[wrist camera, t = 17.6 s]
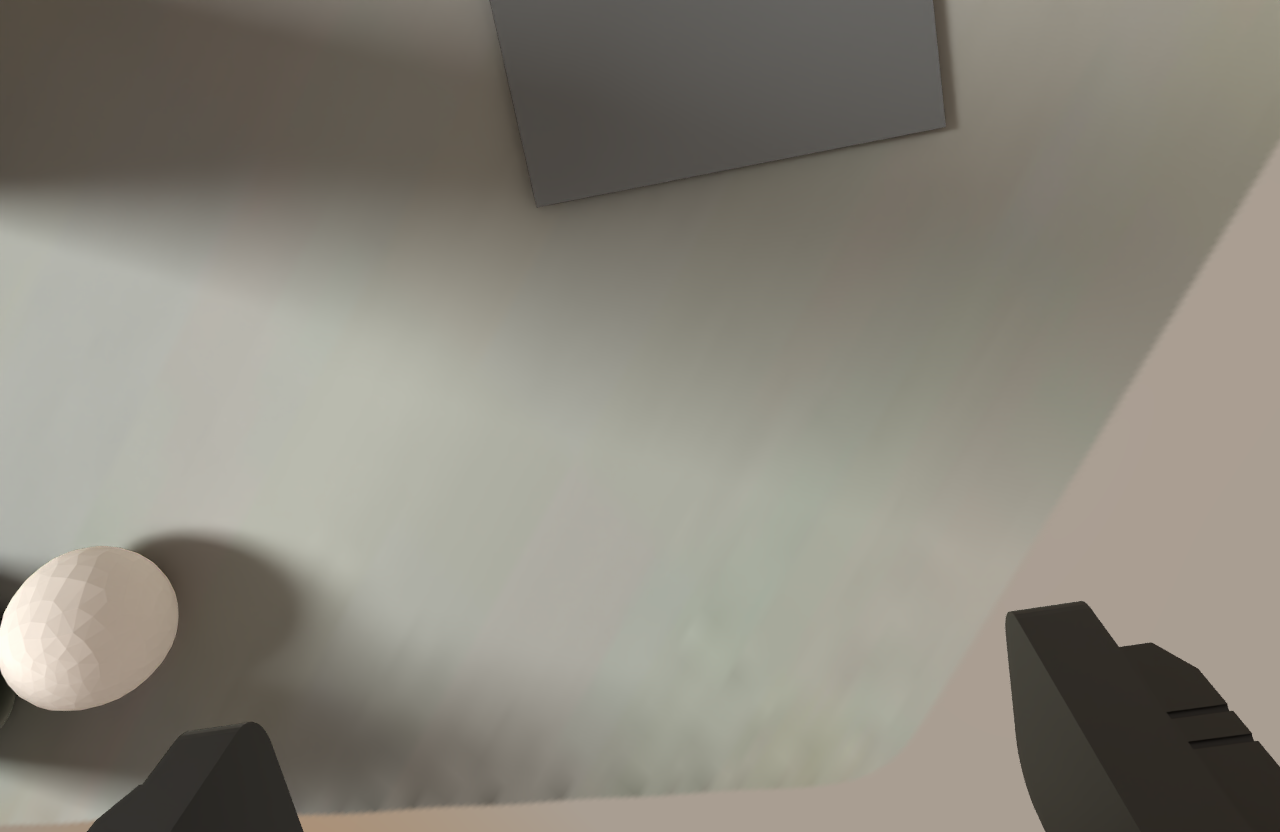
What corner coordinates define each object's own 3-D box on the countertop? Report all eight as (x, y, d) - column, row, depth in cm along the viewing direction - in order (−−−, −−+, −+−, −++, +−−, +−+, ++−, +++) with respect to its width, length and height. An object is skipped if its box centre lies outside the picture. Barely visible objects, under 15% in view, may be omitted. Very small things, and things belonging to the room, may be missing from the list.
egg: (207, 530, 44) (113, 622, 37) (205, 653, 46) (117, 763, 39) (65, 508, 44) (-56, 596, 37) (70, 633, 46) (-44, 739, 39)
